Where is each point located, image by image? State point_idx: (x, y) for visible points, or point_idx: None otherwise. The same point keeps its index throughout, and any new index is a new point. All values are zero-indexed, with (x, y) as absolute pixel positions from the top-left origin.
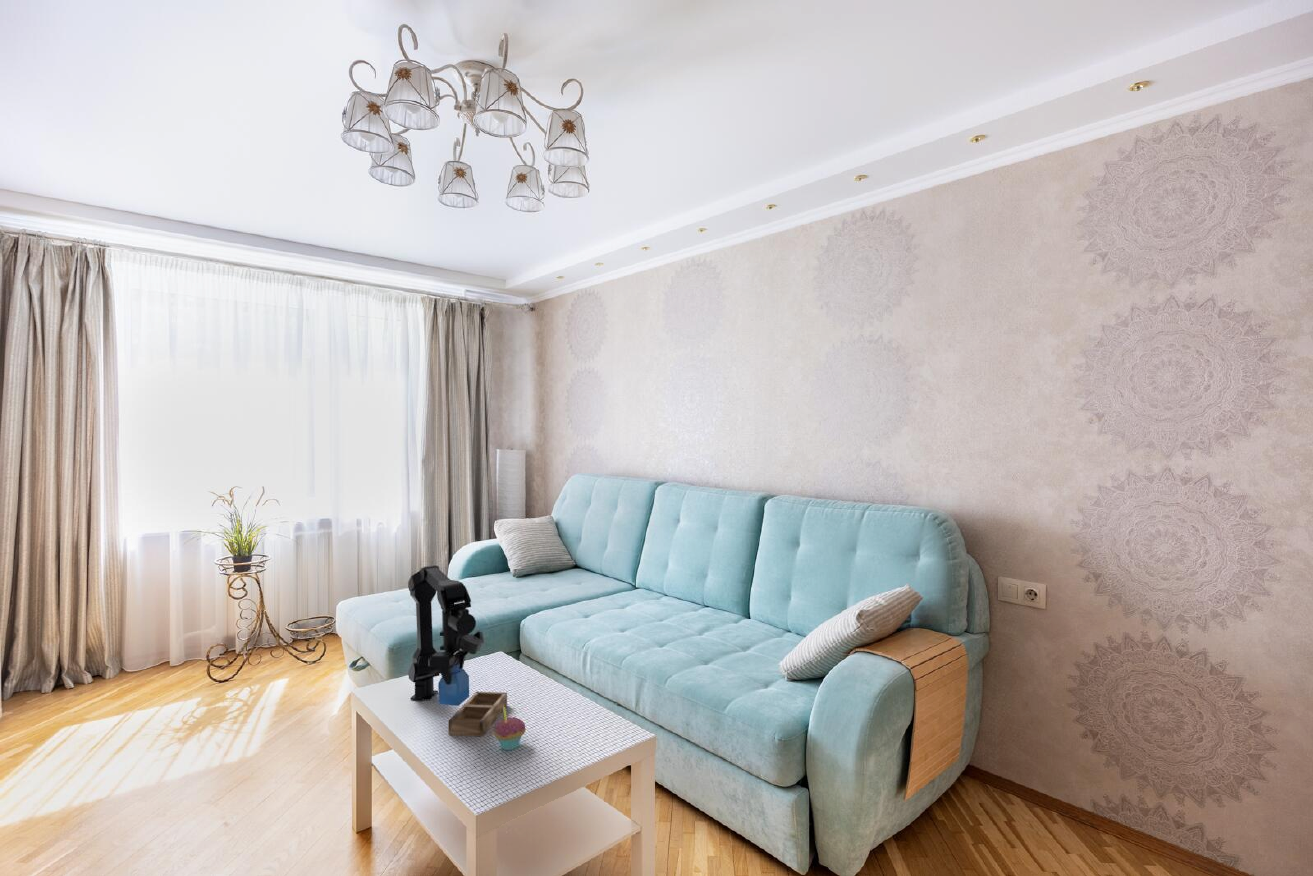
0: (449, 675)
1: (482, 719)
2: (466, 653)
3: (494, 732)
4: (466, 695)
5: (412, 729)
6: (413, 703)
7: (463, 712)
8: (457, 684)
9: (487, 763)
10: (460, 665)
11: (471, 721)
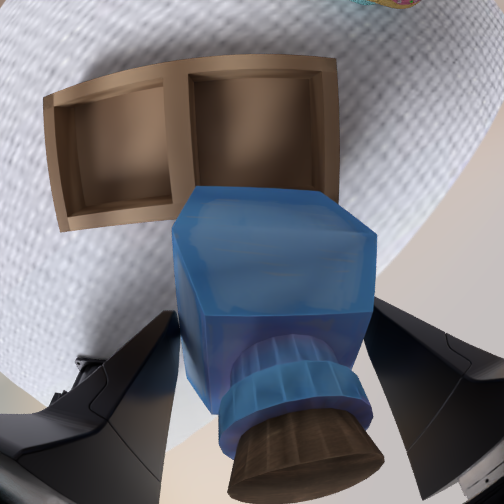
0: (439, 334)
1: (311, 64)
2: (54, 457)
3: (416, 3)
4: (229, 190)
5: None
6: None
7: None
8: (376, 237)
9: (439, 33)
10: (151, 375)
11: (335, 105)
